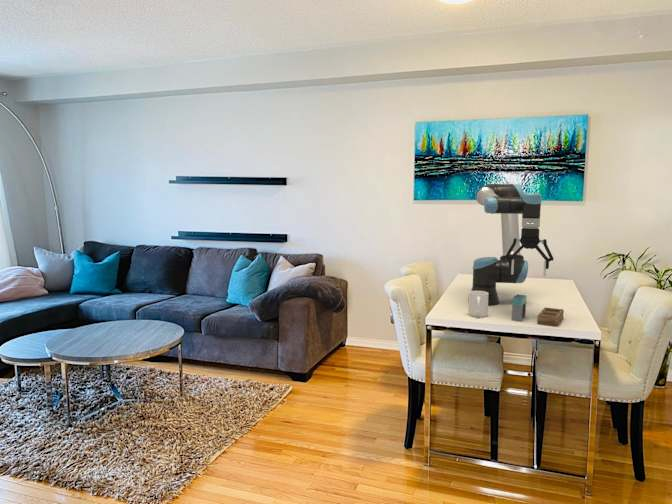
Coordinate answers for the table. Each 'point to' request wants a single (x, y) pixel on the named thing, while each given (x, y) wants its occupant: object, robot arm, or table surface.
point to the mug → (478, 303)
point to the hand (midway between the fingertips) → (528, 275)
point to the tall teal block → (519, 307)
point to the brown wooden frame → (550, 316)
